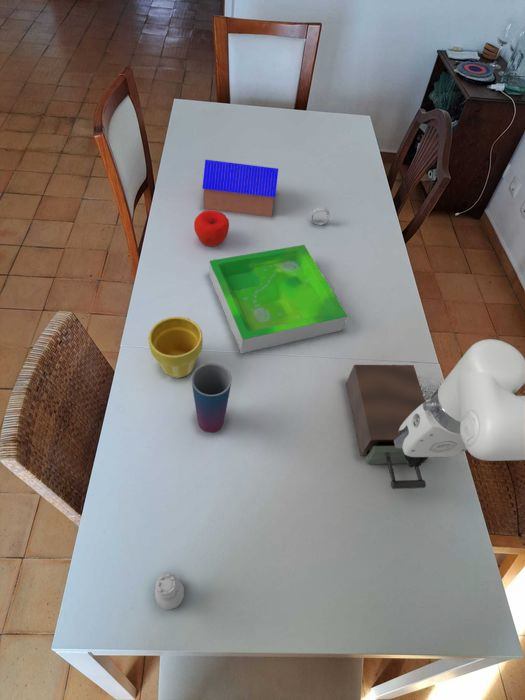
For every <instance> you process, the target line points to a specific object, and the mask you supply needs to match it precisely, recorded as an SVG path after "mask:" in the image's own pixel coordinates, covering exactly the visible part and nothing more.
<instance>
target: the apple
mask: <svg viewBox="0 0 525 700" xmlns="http://www.w3.org/2000/svg"><path fill="white" fill-rule="evenodd" d="M193 228H194V232H195V235H196V237H197V239H198V240H199V241H200V243H201V244H202V245H203V246H206V247H218V246H219V245H221V244H222V243H223V242H224V241H225V240H226V238H227V236H228V233H229V229H230V221H229V218H228V217H227V216H226V215H225V214H224V213H223V212H222V211H219V210H210V209H207V210H203V211H202V212H200V213H199V214H198V215H197V216H196V217H195V218H194V222H193Z"/></svg>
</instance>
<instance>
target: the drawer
mask: <svg viewBox="0 0 525 700" xmlns="http://www.w3.org/2000/svg"><path fill="white" fill-rule="evenodd" d="M368 451H370V452H369V454H368V455H367V456H366V457H365V462H366V464H367V465H374V464H375V465H376V464H377V465H378V464H385V465H386V464H387V467H388V471H389V475H390V476H389V477H390V480H391V481H390V488H391V489H393V490H396V489H397V490H401V489H404V490H405V489H425V488H426V487H427V482H426V480H425V479H423V476H422V472H421V470H420V466H419V467H415V466H414V467H413V468H414V470H415V473H416V478H417V479H407V480H406V479H403V480H399V479H398V480H396V479H397V478H396V475H395V472H394V467H393V464H408V461H407V460H406V459H405V454H404V452H403V449H401V448H396V447H395V444H394V441H375V442H373V444H372V445H371V447H370V448H369V450H368ZM428 459H430V457H427V459H426V460H425V461H424V462H423V463H422V464H424V463H425V462H427V461H428Z"/></svg>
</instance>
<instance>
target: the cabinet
mask: <svg viewBox="0 0 525 700" xmlns="http://www.w3.org/2000/svg"><path fill="white" fill-rule="evenodd" d="M345 386H346V391H347V396H348V402H349V406H350V410H351V411H350V412H351V417H352V421H353V425H354V431H355V436H356V439H357V440H356V441H357V445H358V446H357V447H358V451H359V455H360V457H365V456H366V457H367V455H368V454H369V452H370V451H368V450H369V448H370V447H371V445H372V444H373V442H375V441H394V440H395V439H396V438H397V437H399V436H400V435H401V434H403V433H399V432H398V431H399V428H400V426H401V425H402V423H403V422H404V421H405V420H406V418H407V417H408V416H409V415H410V414H411V413H412V412H413V411H414V410H415V409H416V408H418V407H419V406H420V405H421V404H423V403H424V402H425V401H426V400H425V396H424V393H423V391H422V387H421V384H420V381H419V378H418V375H417V371H416V368H415V365H414V364H354V365H353V366H352V369H351V371H350V374H349V375H348V378H347V379H346V383H345Z"/></svg>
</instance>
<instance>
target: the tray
mask: <svg viewBox="0 0 525 700" xmlns="http://www.w3.org/2000/svg"><path fill="white" fill-rule="evenodd" d="M310 253H311V252H309V250H308V248H307V247H306V245H305V244H301V245H294V246H289V247H283V248H277V249H271V250H265V251H259V252H253V253H247V254H241V255H235V256H228V257H223V258H217V259H210V260H209V278H210V280H211V281H210V282H211V284H212V285H213V288H214V290H215V293H216V295H217V298H218V300H219V302H220V305H221V308H222V310H223V312H224V315H225V318H226V320H227V322H228V325H229V327H230V329H231V333H232V334H233V337H234V339H235V342H236V345H237V347H238V349H239V352H240V354H246V353H250V352H254V351H260V350H263V349H267V348H272V347H276V346H280V345H284V344H285V345H286V344H289V343H293V342H297V341H303V340H306V339H310V338H314V337H319V336H324V335H328V334H333V333H336V332H340V331H341V332H342V331H343V329H344V327H345V324H346V321H347V319H348V315H347V313H346V311H345V310H344V307H343V306H342V305H341V303H340V302H339V300H338V298H337V297H336V295H335V293H334V292H333V290H332V288H331V286H330V285H329V282H327V280H326V277H324V275H323V273H322V271H321V270H320V268H319V267H318V265H317V263H316V261H315V259H314V258H313V257H312V255H311V254H310Z"/></svg>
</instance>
